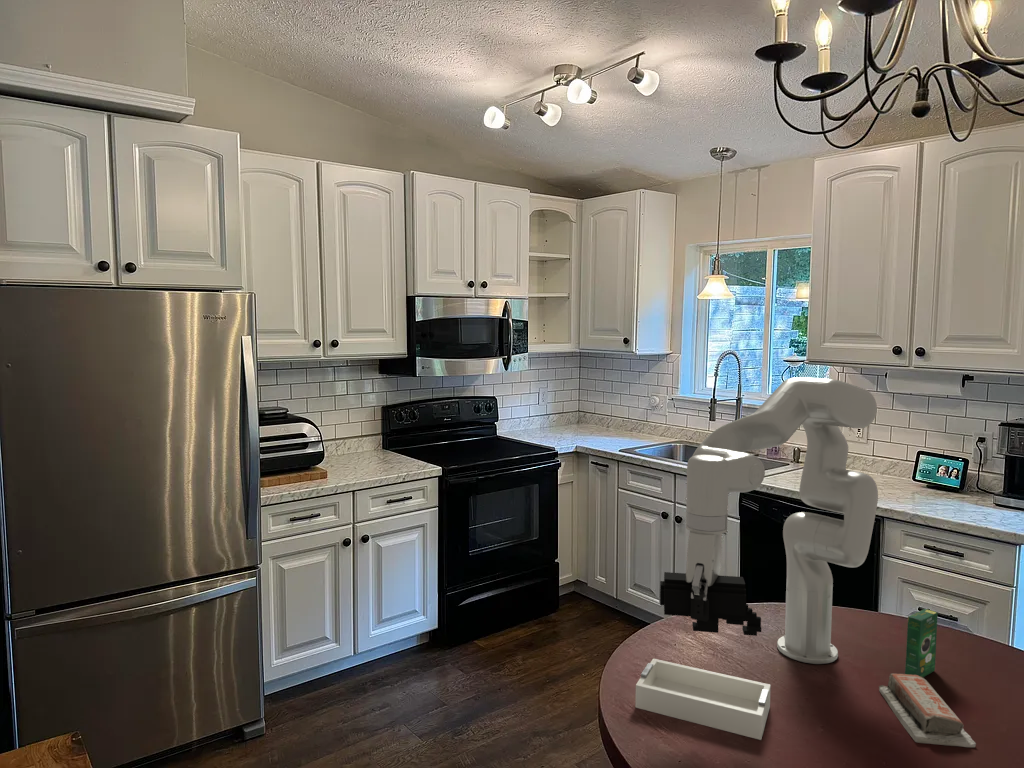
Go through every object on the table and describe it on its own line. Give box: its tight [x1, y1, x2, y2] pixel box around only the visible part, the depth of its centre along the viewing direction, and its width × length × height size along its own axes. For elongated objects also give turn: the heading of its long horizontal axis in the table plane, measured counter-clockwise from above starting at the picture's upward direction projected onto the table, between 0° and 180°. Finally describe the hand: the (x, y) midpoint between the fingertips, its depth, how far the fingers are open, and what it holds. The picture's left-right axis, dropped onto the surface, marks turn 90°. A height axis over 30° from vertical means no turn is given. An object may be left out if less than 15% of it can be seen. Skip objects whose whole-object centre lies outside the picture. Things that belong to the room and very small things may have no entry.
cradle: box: [634, 658, 772, 741], centre depth 132 cm, size 12×23×5 cm, turn 63°
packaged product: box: [878, 673, 977, 748], centre depth 129 cm, size 18×5×10 cm
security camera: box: [659, 571, 762, 637], centre depth 130 cm, size 7×18×10 cm, turn 78°
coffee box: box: [904, 608, 939, 678], centre depth 144 cm, size 8×3×13 cm, turn 125°
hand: (704, 610), depth 131 cm, fingers closed on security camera, 8 cm apart
